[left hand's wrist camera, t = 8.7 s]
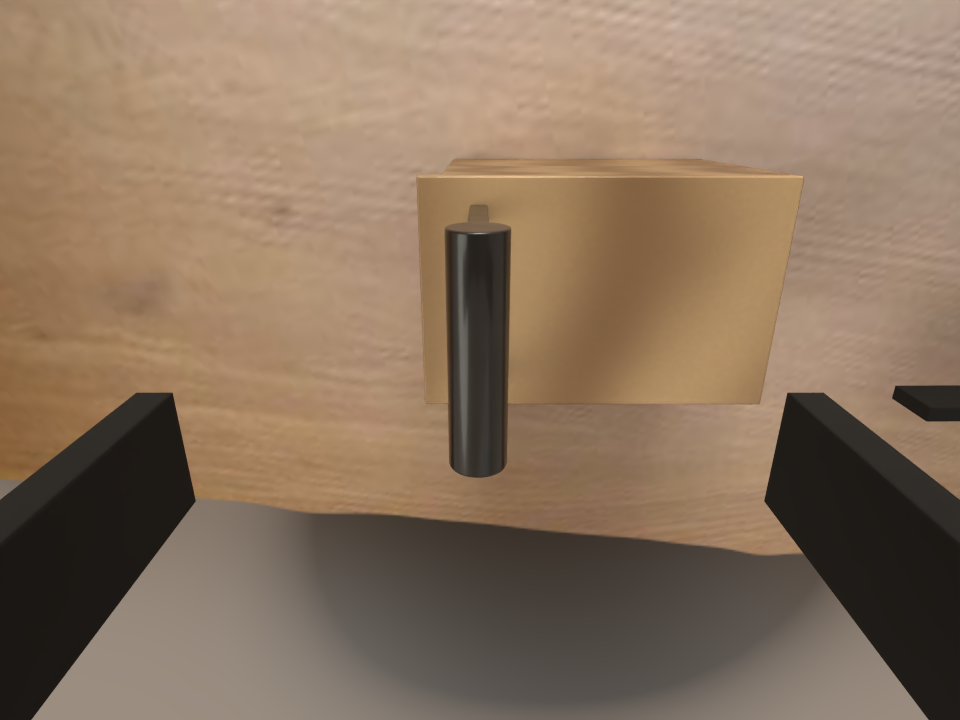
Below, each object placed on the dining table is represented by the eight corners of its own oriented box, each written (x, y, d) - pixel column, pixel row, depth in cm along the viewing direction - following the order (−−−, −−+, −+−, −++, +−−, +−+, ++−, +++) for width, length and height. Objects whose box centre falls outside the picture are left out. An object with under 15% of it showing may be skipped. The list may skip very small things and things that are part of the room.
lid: (426, 396, 27) (405, 501, 19) (418, 174, 23) (388, 199, 16) (752, 396, 27) (856, 502, 19) (793, 174, 23) (943, 199, 16)
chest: (455, 323, 36) (446, 395, 27) (453, 159, 33) (441, 174, 23) (679, 323, 36) (751, 395, 27) (701, 159, 33) (793, 174, 23)
